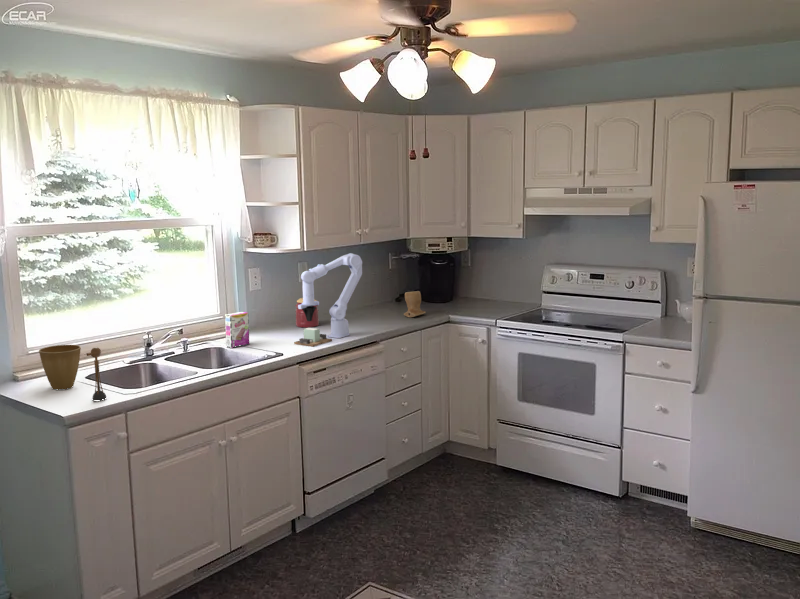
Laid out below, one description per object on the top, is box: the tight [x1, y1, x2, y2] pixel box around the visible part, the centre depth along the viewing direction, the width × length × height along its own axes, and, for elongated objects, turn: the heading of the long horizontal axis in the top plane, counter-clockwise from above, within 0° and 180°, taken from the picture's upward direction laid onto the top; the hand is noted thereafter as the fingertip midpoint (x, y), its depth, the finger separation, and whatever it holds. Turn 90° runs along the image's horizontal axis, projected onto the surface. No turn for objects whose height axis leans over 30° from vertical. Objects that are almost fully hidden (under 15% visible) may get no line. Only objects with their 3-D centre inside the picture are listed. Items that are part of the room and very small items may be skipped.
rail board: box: [293, 333, 333, 347], centre depth 358 cm, size 15×12×3 cm
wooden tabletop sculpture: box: [86, 346, 107, 401], centre depth 264 cm, size 6×5×20 cm
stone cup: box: [403, 290, 426, 318], centre depth 426 cm, size 15×12×15 cm
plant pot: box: [38, 344, 82, 391], centre depth 282 cm, size 15×15×16 cm
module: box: [303, 327, 321, 342], centre depth 357 cm, size 4×7×6 cm, turn 58°
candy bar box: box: [224, 311, 250, 349], centre depth 352 cm, size 11×5×16 cm, turn 141°
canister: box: [294, 297, 320, 328], centre depth 401 cm, size 13×13×18 cm
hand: (309, 320), depth 366 cm, fingers closed
